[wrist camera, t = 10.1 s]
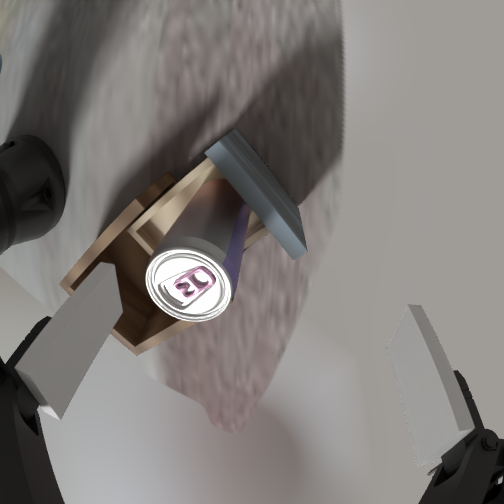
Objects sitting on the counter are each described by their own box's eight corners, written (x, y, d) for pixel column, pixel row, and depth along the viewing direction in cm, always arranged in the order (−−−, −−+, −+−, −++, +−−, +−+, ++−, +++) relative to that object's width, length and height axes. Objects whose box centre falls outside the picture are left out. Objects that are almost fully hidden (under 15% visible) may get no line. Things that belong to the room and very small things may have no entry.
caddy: (168, 171, 31) (135, 198, 24) (241, 254, 36) (233, 301, 28) (93, 247, 37) (59, 284, 29) (157, 310, 41) (136, 355, 34)
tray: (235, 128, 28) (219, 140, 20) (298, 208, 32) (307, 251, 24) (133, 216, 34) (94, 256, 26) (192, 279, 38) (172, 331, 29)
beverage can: (262, 210, 31) (255, 300, 18) (218, 239, 33) (186, 335, 20) (227, 165, 29) (190, 226, 16) (184, 198, 31) (124, 276, 18)
